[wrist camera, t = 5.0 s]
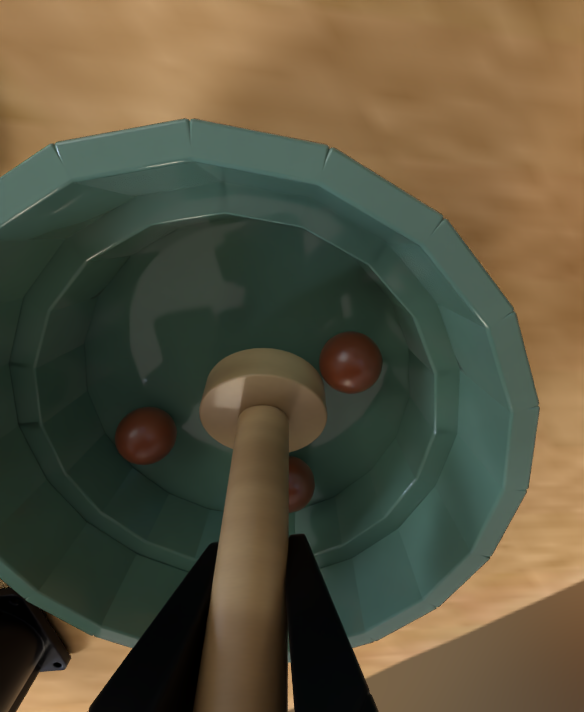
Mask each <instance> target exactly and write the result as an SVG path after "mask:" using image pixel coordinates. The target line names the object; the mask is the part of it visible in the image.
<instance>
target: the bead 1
mask: <svg viewBox="0 0 584 712" xmlns="http://www.w3.org/2000/svg"><path fill="white" fill-rule="evenodd" d="M176 437H177V429H176V425H175V422H174V420H173V419H172V417H171V416H170V415H169V414H168V413H167V412H165V411H164V410H162V409H159V408H156V407H142V408H138V409H136V410H133V411H132V412H130V413H128V414H127V415H126V416H125V417H124V418H123V419H122V420H121V422H120V423H119V425H118V427H117V429H116V433H115V445H116V448H117V450H118V452H119V454H120V455H121V456H122V457H123V458H124V459H125V460H127V461H129V462H131V463H133V464H137V465H149V464H153V463H156V462H158V461H160V460H161V459H163V458H164V457H165V456H167V455H168V454H169V452H170V451H171V450H172V448H173V446H174V444H175V442H176Z"/></svg>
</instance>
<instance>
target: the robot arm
mask: <svg viewBox="0 0 584 712" xmlns="http://www.w3.org/2000/svg"><path fill="white" fill-rule="evenodd" d="M218 544H219V542H212V543H210V544H209V545H208V546H207V548H206V549H205V551H204V552H203V553H202V555H201V556H200V557H199V559H198V560H197V561H196V563H195V564H194V566H193V567H192V568H191V570H190V571H189V572H188V574H187V575H186V576H185V578H184V579H183V581H182V582H181V583H180V585H179V586H178V587H177V589H176V590H175V591H174V593H173V594H172V595H171V597H170V598H169V600H168V601H167V602H166V604H165V605H164V606H163V608H162V609H161V610H160V612H159V613H158V615H157V616H156V617H155V619H154V620H153V621H152V623H151V624H150V625H149V627H148V628H147V630H146V631H145V632H144V634H143V635H142V636H141V638H140V639H139V640H138V642H137V643H136V644H135V646H134V647H133V649H132V650H131V651H130V653H129V654H128V655H127V657H126V658H125V659H124V661H123V662H122V664H121V665H120V666H119V668H118V669H117V670H116V672H115V673H114V674H113V676H112V677H111V679H110V680H109V681H108V683H107V684H106V685H105V687H104V688H103V689H102V691H101V692H100V694H99V695H98V696H97V698H96V699H95V700H94V702H93V703H92V704H91V706H90V708H89V712H193V707H194V700H195V694H196V687H197V681H198V674H199V668H200V661H201V655H202V648H203V642H204V635H205V629H206V622H207V616H208V610H209V603H210V597H211V590H212V584H213V577H214V570H215V564H216V557H217V551H218ZM285 595H286V609H287V621H288V634H289V647H290V659H291V672H292V684H293V697H294V710H295V712H378V709H377V707H376V704H375V702H374V699H373V697H372V695H371V694H370V693H369V688H368V685H367V683H366V680H365V678H364V676H363V673H362V671H361V668H360V666H359V663H358V661H357V659H356V656H355V654H354V651H353V649H352V646H351V644H350V642H349V639H348V637H347V634H346V632H345V629H344V627H343V625H342V622H341V620H340V617H339V615H338V613H337V610H336V608H335V605H334V603H333V600H332V598H331V596H330V593H329V591H328V588H327V586H326V583H325V581H324V579H323V576H322V574H321V571H320V569H319V566H318V564H317V562H316V559H315V557H314V554H313V552H312V549H311V547H310V545H309V542H308V540H307V537H306V535H305V534H303V533H302V534H292V535H290V536H289V541H288V556H287V565H286V579H285ZM70 659H71V656H70V655H69V653H68V651H67V650H66V648H65V647H64V645H63V644H62V642H61V641H60V639H59V637H58V636H57V634H56V633H55V631H54V630H53V628H52V627H51V625H50V623H49V622H48V620H47V619H46V617H45V616H44V614H43V613H42V611H41V609H40V608H39V607H37V606H35V605H33V604H31V603H29V602H28V601H26V600H25V598H22V597H21V596H20V595H19V594H18V593H17V592H15V591H14V590H13V589H12V588H4V589H0V712H16V711H17V709H18V708H19V706H20V704H21V702H22V701H23V699H24V697H25V696H26V694H27V692H28V690H29V689H30V687H31V685H32V684H33V682H34V680H35V678H36V677H37V675H38V673H39V672H43V671H56V670H64V669H65V668H66V667H67V665H68V663H69V661H70Z"/></svg>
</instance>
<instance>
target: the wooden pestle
mask: <svg viewBox="0 0 584 712" xmlns="http://www.w3.org/2000/svg"><path fill="white" fill-rule="evenodd" d="M199 415H200V420H201V423H202V425H203V427H204V429H205V430H206V431H207V432H208V434H209V435H210V436H211V437H213V438H214V439H215V440H216V441H218V442H219V443H221V444H223V445H225V446H227V447H229V448H231V449H233V454H232V460H231V467H230V473H229V480H228V486H227V493H226V499H225V506H224V512H223V519H222V525H221V532H220V538H219V544H218V551H217V557H216V564H215V570H214V577H213V584H212V590H211V597H210V603H209V610H208V616H207V622H206V629H205V635H204V642H203V648H202V655H201V661H200V668H199V674H198V681H197V687H196V694H195V700H194V707H193V712H288V621H287V609H286V595H285V579H286V565H287V556H288V541H289V452H292V451H296V450H298V449H301V448H303V447H305V446H307V445H309V444H310V443H312V442H313V441H314V440H316V439H317V438H318V437H319V436H320V434H321V433H322V431H323V430H324V428H325V425H326V422H327V407H326V397H325V388H324V383H323V380H322V378H321V376H320V374H319V373H318V372H317V370H316V369H315V368H314V367H313V366H312V365H311V364H310V363H309V362H307V361H306V360H304V359H303V358H301V357H299V356H297V355H295V354H292V353H290V352H287V351H283V350H278V349H272V348H253V349H246V350H242V351H239V352H236V353H233V354H231V355H229V356H227V357H225V358H224V359H222V360H221V361H220V362H218V363H217V364H216V365H215V366H214V367H213V369H212V370H211V372H210V373H209V376H208V378H207V382H206V385H205V389H204V393H203V396H202V400H201V404H200V407H199Z"/></svg>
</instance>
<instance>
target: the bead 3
mask: <svg viewBox="0 0 584 712" xmlns="http://www.w3.org/2000/svg"><path fill="white" fill-rule="evenodd" d="M382 364H383V360H382V355H381V352H380V349H379V347H378V346H377V344H376V343H375V342H374V341H373V340H372V339H371V338H370V337H368V336H367V335H365V334H362V333H359V332H354V331H348V332H342V333H339V334H337V335H335V336H333V337H332V338H330V339H329V340H328V341H327V342H326V344H325V345H324V347H323V349H322V351H321V353H320V357H319V367H320V372H321V374H322V376H323V378H324V380H325V381H326V383H327V384H328V385H329V386H331V387H332V388H333V389H335V390H337V391H339V392H342V393H347V394H355V393H360V392H363V391H365V390H367V389H369V388H370V387H371V386H372V385H374V383H375V382H376V381H377V380H378V378H379V376H380V374H381V370H382Z"/></svg>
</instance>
